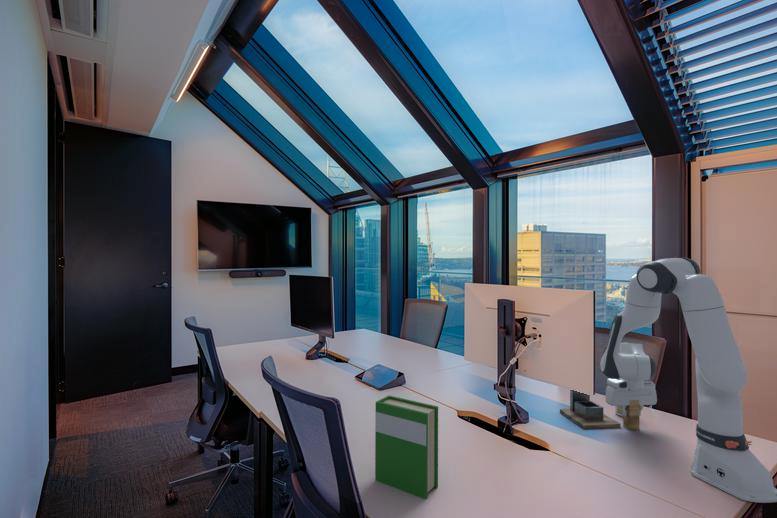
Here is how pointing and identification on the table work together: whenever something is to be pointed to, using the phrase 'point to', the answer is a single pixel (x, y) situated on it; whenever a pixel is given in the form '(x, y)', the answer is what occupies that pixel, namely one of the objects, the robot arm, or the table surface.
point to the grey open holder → (585, 406)
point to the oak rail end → (632, 416)
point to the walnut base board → (590, 421)
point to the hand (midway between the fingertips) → (631, 415)
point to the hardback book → (406, 445)
